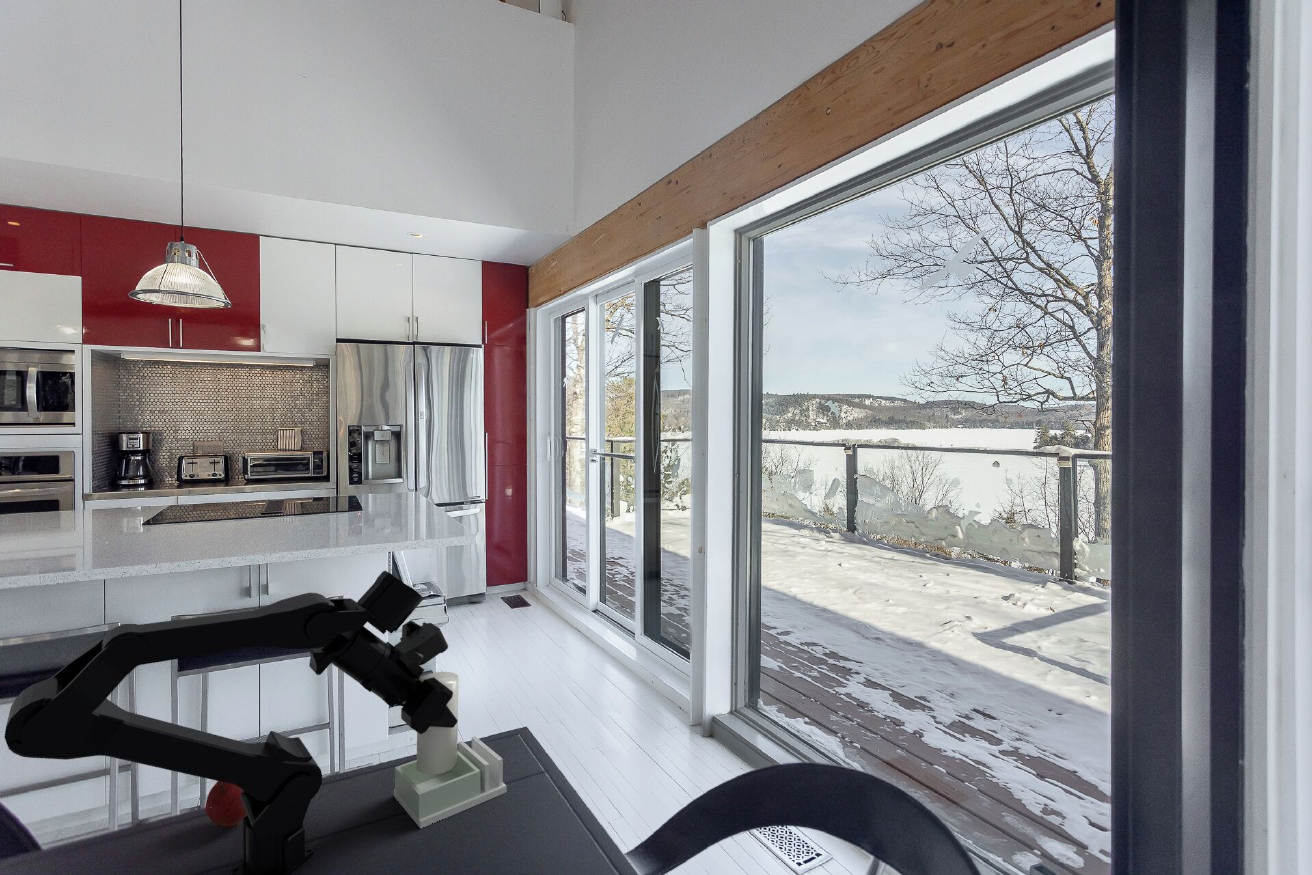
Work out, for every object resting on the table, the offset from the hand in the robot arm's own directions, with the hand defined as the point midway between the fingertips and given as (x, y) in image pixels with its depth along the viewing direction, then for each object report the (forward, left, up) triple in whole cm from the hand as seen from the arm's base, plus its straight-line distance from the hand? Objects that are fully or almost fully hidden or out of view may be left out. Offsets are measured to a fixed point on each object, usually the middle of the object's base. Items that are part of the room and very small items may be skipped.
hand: (446, 716), depth 94 cm
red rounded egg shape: (-23, -15, -12) cm, 30 cm away
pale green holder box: (0, +1, -12) cm, 12 cm away
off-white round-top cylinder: (-1, -1, -7) cm, 7 cm away
